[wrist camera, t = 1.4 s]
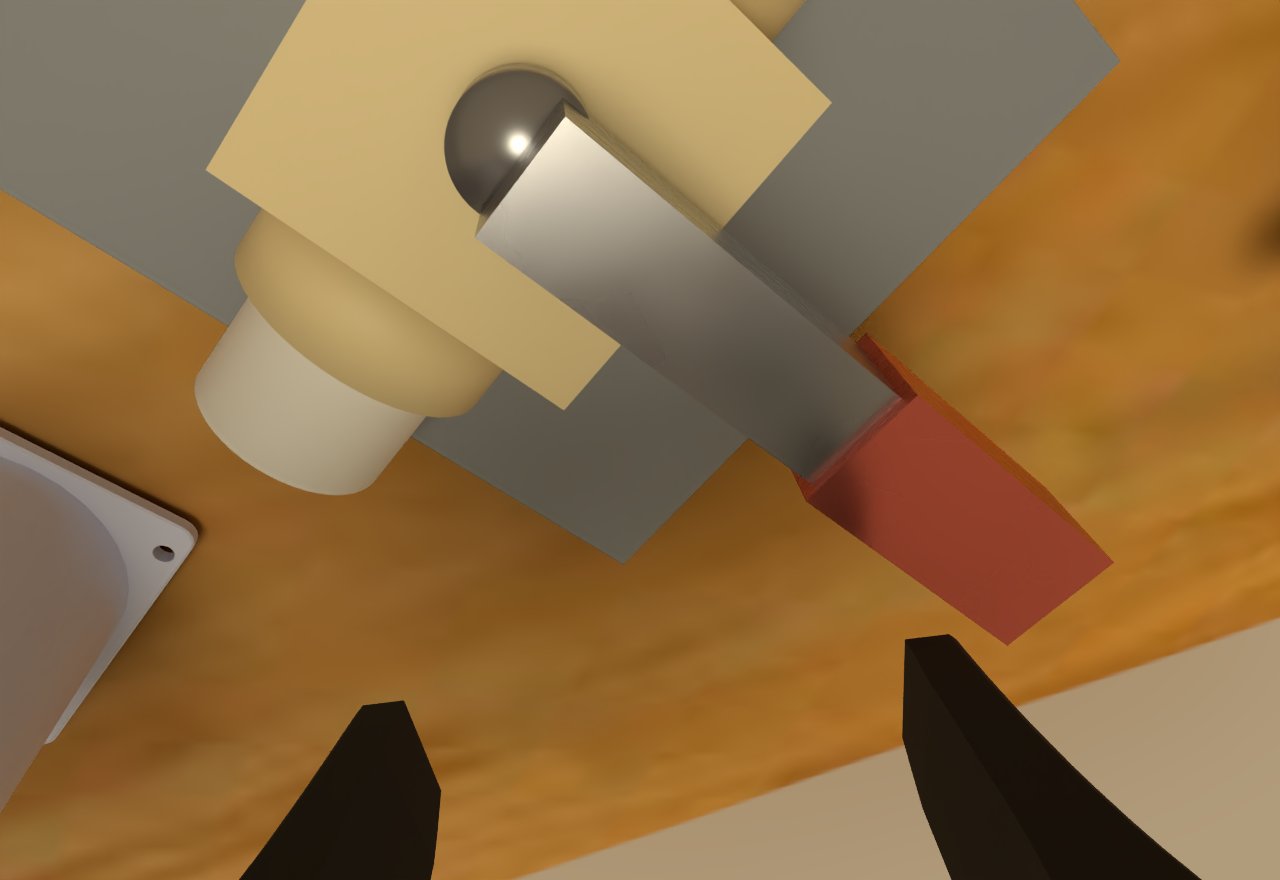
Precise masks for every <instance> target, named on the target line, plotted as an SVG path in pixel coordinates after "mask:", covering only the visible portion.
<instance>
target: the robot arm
mask: <svg viewBox="0 0 1280 880" xmlns="http://www.w3.org/2000/svg"><path fill="white" fill-rule="evenodd" d="M197 539H198V532H197V529H196V528H195V527H194V525H193V524H191V523H190V522H189V521H187V520H185V519H183V518H181V517H179V516H177V515H175V514H173V513H171V512H169V511H167V510H165V509H163V508H161V507H159V506H157V505H155V504H153V503H151V502H149V501H147V500H145V499H143V498H141V497H139V496H137V495H135V494H133V493H131V492H129V491H127V490H125V489H123V488H121V487H119V486H117V485H115V484H113V483H111V482H109V481H107V480H105V479H103V478H101V477H99V476H97V475H95V474H93V473H91V472H89V471H87V470H85V469H83V468H81V467H79V466H77V465H75V464H73V463H71V462H69V461H67V460H65V459H63V458H61V457H59V456H57V455H55V454H53V453H51V452H49V451H47V450H45V449H43V448H41V447H39V446H37V445H35V444H33V443H31V442H29V441H27V440H25V439H23V438H21V437H19V436H17V435H15V434H13V433H11V432H9V431H7V430H5V429H3V428H1V427H0V813H1V812H2V810H3V809H4V807H5V805H6V804H7V802H8V801H9V799H10V797H11V796H12V794H13V793H14V791H15V789H16V788H17V786H18V785H19V783H20V781H21V780H22V778H23V777H24V775H25V773H26V772H27V770H28V769H29V767H30V765H31V764H32V762H33V761H34V759H35V757H36V756H37V754H38V753H39V751H40V749H41V748H42V746H43V745H44V744H48V743H51V742H52V741H54V740H55V739H56V738H57V736H58V735H59V733H60V732H61V731H62V729H63V728H64V727H65V725H66V724H67V722H68V721H69V720H70V718H71V717H72V715H73V714H74V713H75V711H76V710H77V708H78V707H79V706H80V704H81V703H82V702H83V700H84V699H85V697H86V696H87V695H88V693H89V692H90V690H91V689H92V688H93V686H94V685H95V683H96V682H97V681H98V679H99V678H100V677H101V675H102V674H103V672H104V671H105V670H106V668H107V667H108V665H109V664H110V663H111V661H112V660H113V658H114V657H115V656H116V654H117V653H118V652H119V650H120V649H121V647H122V646H123V645H124V643H125V642H126V640H127V639H128V638H129V636H130V635H131V633H132V632H133V631H134V629H135V628H136V627H137V625H138V624H139V622H140V621H141V620H142V618H143V617H144V615H145V614H146V613H147V611H148V610H149V608H150V607H151V606H152V604H153V603H154V602H155V600H156V599H157V597H158V596H159V595H160V593H161V592H162V590H163V589H164V588H165V586H166V585H167V584H168V582H169V581H170V579H171V578H172V577H173V575H174V574H175V572H176V571H177V570H178V568H179V567H180V565H181V564H182V563H183V561H184V560H185V559H186V557H187V556H188V554H189V553H190V552H191V550H192V549H193V547H194V545H195V544H196V542H197ZM162 545H163V546H167V547H169V548H170V549H172V550H173V552H172V553H170V552H166V551H164V550H163V549H161V548H160V546H162ZM902 738H903V741H904V745H905V748H906V752H907V755H908V759H909V763H910V766H911V770H912V773H913V777H914V780H915V784H916V787H917V791H918V794H919V797H920V801H921V804H922V807H923V810H924V813H925V815H926V818H927V820H928V823H929V825H930V828H931V830H932V833H933V835H934V838H935V840H936V842H937V845H938V848H939V850H940V853H941V855H942V857H943V860H944V862H945V865H946V867H947V870H948V872H949V875H950V877H951V880H1201V879H1200V878H1199V877H1198V876H1196V875H1195V874H1194V873H1193V872H1192V871H1190V870H1189V869H1188V868H1187V867H1185V866H1184V865H1183V864H1182V863H1181V862H1179V861H1178V860H1177V859H1176V858H1174V857H1173V856H1172V855H1171V854H1169V853H1168V852H1167V851H1166V850H1165V849H1163V848H1162V847H1161V846H1160V845H1159V844H1158V843H1156V842H1155V841H1154V840H1153V839H1152V838H1151V837H1149V836H1148V835H1147V834H1146V833H1145V832H1144V831H1143V830H1141V829H1140V828H1139V827H1138V826H1137V825H1136V824H1134V823H1133V822H1132V821H1131V820H1130V819H1129V818H1128V817H1127V816H1126V815H1125V814H1124V813H1122V812H1121V811H1120V810H1119V809H1118V808H1117V807H1116V806H1115V805H1114V804H1113V803H1112V802H1110V801H1109V800H1108V799H1107V798H1106V797H1105V796H1104V795H1103V794H1102V793H1101V792H1100V791H1098V790H1097V789H1096V788H1095V787H1094V786H1093V785H1092V784H1091V783H1090V782H1089V781H1088V780H1087V779H1086V778H1085V777H1084V776H1082V775H1081V774H1080V772H1079V771H1077V770H1076V769H1075V768H1074V767H1073V766H1072V765H1071V764H1070V763H1069V762H1068V761H1067V760H1066V759H1065V758H1064V757H1063V756H1062V755H1061V754H1060V753H1059V752H1058V751H1057V750H1056V749H1055V748H1054V747H1053V746H1052V745H1051V744H1050V743H1049V742H1048V741H1047V740H1046V739H1045V737H1044V736H1043V735H1042V734H1041V733H1040V732H1039V731H1038V730H1037V729H1036V728H1035V727H1034V726H1033V725H1032V724H1031V723H1030V722H1029V721H1028V720H1027V719H1026V718H1025V717H1024V716H1023V715H1022V714H1021V713H1020V712H1019V710H1018V709H1017V708H1016V707H1015V706H1014V705H1013V704H1012V703H1011V702H1010V701H1009V700H1008V698H1007V697H1006V696H1005V695H1004V694H1003V693H1002V692H1001V691H1000V690H999V689H998V687H997V686H996V685H995V684H994V683H993V682H992V681H991V680H990V678H989V677H988V676H987V675H986V674H985V673H984V672H983V670H982V669H981V668H980V667H979V666H978V665H977V664H976V662H975V661H974V660H973V659H972V658H971V656H970V655H969V654H968V653H967V652H966V651H965V649H964V648H963V647H962V646H961V645H960V643H959V642H958V641H957V640H956V639H955V638H954V637H952V636H951V635H949V634H946V635H938V636H930V637H922V638H914V639H905V660H904V696H903V733H902ZM440 797H441V789H440V787H439V784H438V782H437V780H436V777H435V775H434V772H433V770H432V767H431V765H430V763H429V760H428V758H427V755H426V753H425V750H424V748H423V746H422V743H421V741H420V738H419V736H418V733H417V731H416V729H415V726H414V724H413V721H412V719H411V717H410V714H409V712H408V709H407V707H406V704H405V702H404V701H396V702H388V703H379V704H371V705H363V706H362V707H361V709H360V710H359V711H358V712H357V714H356V715H355V717H354V718H353V720H352V721H351V723H350V724H349V726H348V727H347V728H346V730H345V731H344V733H343V734H342V736H341V737H340V739H339V740H338V742H337V743H336V745H335V746H334V748H333V749H332V751H331V752H330V754H329V755H328V757H327V758H326V760H325V761H324V763H323V764H322V765H321V767H320V768H319V770H318V771H317V773H316V774H315V776H314V777H313V779H312V780H311V782H310V783H309V784H308V786H307V787H306V789H305V790H304V792H303V793H302V795H301V796H300V797H299V799H298V800H297V802H296V803H295V804H294V806H293V807H292V809H291V810H290V811H289V813H288V814H287V816H286V817H285V818H284V820H283V821H282V823H281V824H280V825H279V827H278V828H277V830H276V831H275V832H274V834H273V835H272V837H271V838H270V839H269V841H268V842H267V844H266V845H265V846H264V848H263V849H262V850H261V852H260V853H259V854H258V856H257V857H256V858H255V860H254V861H253V862H252V864H251V865H250V866H249V867H248V869H247V870H246V871H245V873H244V874H243V875H242V876H241V878H240V879H239V880H431V875H432V870H433V865H434V858H435V849H436V840H437V831H438V820H439V809H440Z"/></svg>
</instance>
